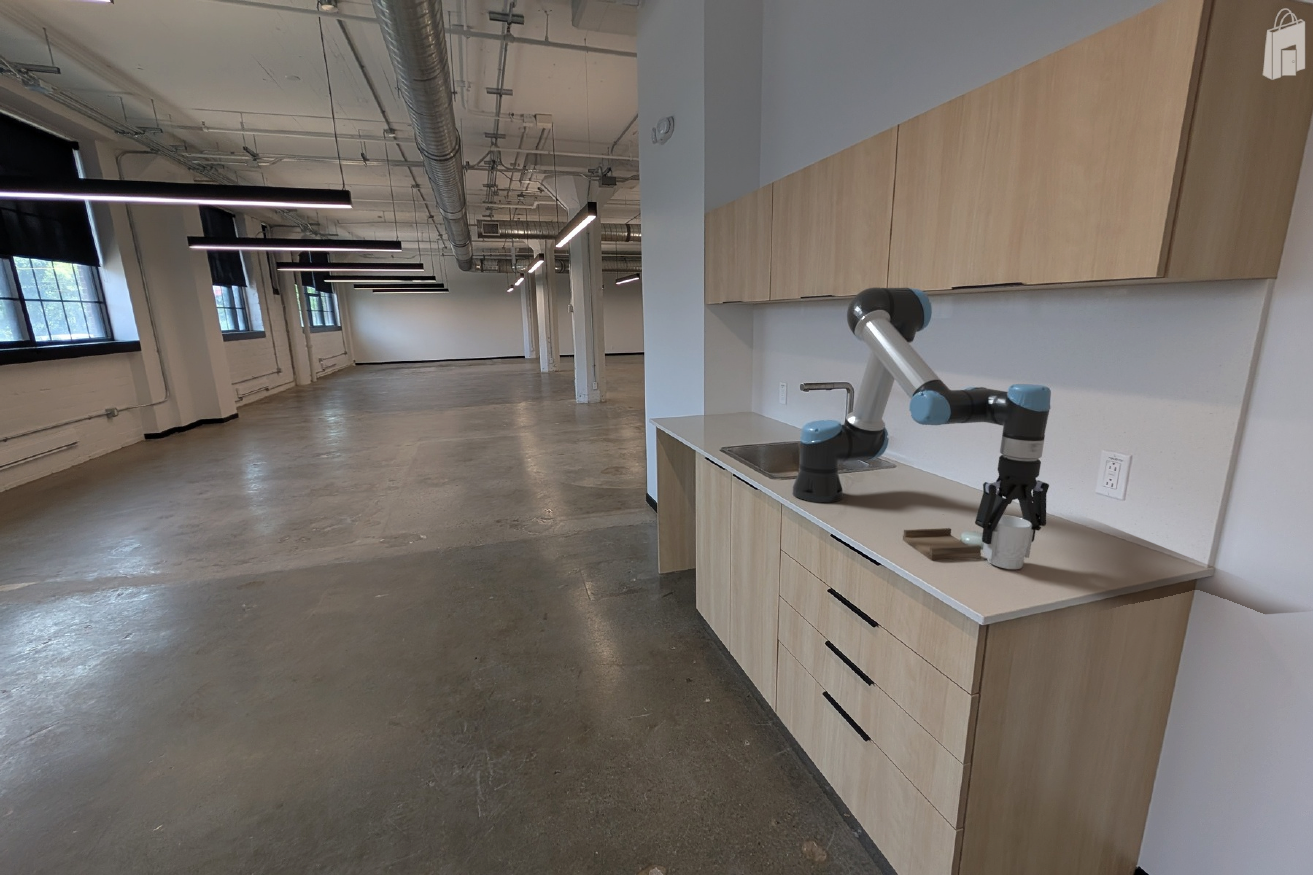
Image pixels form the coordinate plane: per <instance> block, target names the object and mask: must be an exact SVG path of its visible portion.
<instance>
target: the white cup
mask: <svg viewBox="0 0 1313 875" xmlns="http://www.w3.org/2000/svg"><path fill="white" fill-rule="evenodd" d="M1031 528H1032V523H1031V522H1029V521H1027V520H1025V519H1023V517H1019V516H1014V515H1007V514H1003V515H1002V517H1001V519H1000V521H999V522H998V524H997V526H996V528H995V530H996V531H998V535H997V542H996V549H995V556H994V559H989V558H988V557H986V559H987V562H988V563H990V564H991V565H992V566H996V567H999V568H1002V569H1006V570H1019V569H1021V568H1023V567H1024V562H1025V558H1026V557H1025V555H1026V550H1027V547H1028V543H1029V538H1030V533H1031Z"/></svg>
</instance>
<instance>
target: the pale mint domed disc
mask: <svg viewBox="0 0 1313 875" xmlns="http://www.w3.org/2000/svg"><path fill="white" fill-rule="evenodd" d="M982 536H983V532H979V531H969V530H968V531H964V532H962V533H961V535H960V541H962V542H963V543H965V544H967V545H969V546H972V545H979V546H981V550H983V546H984V542H982Z"/></svg>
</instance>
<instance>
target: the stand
mask: <svg viewBox="0 0 1313 875" xmlns="http://www.w3.org/2000/svg"><path fill="white" fill-rule="evenodd" d="M902 541H903V542H905V543H906V544H907V545H909V546H910V547H912V548H913V549H915V550H916V551H917V552H919V553H920V554H922V555H923V556H924V557H926V558H928V559H929V560H930V561H944V560H962V559H981V556H982V552H981V551H982V549H981V546H979V545H972V546H969V545H967V544H965V543H963V542H962V541H961V539H958V538H957V537H955V536H953V535H952V529H951V528H950V527H945V528H943V527H941V528H923V529H922V528H919V529H904V530H903V535H902Z"/></svg>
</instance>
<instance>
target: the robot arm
mask: <svg viewBox="0 0 1313 875" xmlns="http://www.w3.org/2000/svg"><path fill="white" fill-rule="evenodd" d="M932 310H933V308H932V303H931V302H930V298H929V296H928V294H927V293H926V292H925V291H923V290H921V289H919V288H913V287H869V288H866V289H863V290H861V291H860V292H859V293H857V294H856V295H855V296H853V298H852V300H850V303H849V304H848V308H847V311H846V320H847V324H848V327H849V330H850V331H851V332H852V334H853V336H855V338H856V339H857V340H858V341H861V342H864V343H866V345H867V346H868V347H869V349H870V353H869V356H868V359H867V361H866V367H865V370H864V371H863V372H864V373H863V377H862V380H861V383H860V387H859V390H858V393H857V397H856V400H855V404H854V407H853V411H852V412H848V413H847V414H846V417H845V419H844V422H843V424H842V423H841V421H838V420H834V419H826V420H825V419H819V420H814V421H810V422H807V423H806V424H805V425H804V426H803V427H802V429H801V434H800V439H799V440H800V454H799V469H798V473H797V475H796V477H795V480H794V483H793V486H792V495H793V497H795V498H797V497H798V498H797V499H799V498H800V500H802V499H804V500H803V501H806V500H807V501H806V502H811V501H812V502H813V503H822V502H826V503H835V502H839V501H841V500H842V499H843V496H844V494H843V493H844V489H843V486H842V482H841V479H840V475H839V474H840V473H839V469H840V467H839V466H840V463H846V462H856V461H863V462H864V461H865V462H866V461H870V460H875V459H878V458H879V457H881V456H883V455H884V453H885V452H886V451H887V448H888V444H889V439H890V438H889V437H888V436H889V432H888V430H887V428H886V423H885V421H884V420H883V416H884V413H885V409H886V407H887V405H888V401H889V397H890V394H891V392H892V388H893V386H894V383H895V381H896V382H897V384H898V385H899V386H900V387H901V388H902V390H903V391H904V392H905V393H906V395H907V396H908V398H909V399H910V401H909V408H908V409H909V412H910V416H911V418H912V420H913V421H914V422H916V423H918V424H919V425H922V426H942V425H950V424H951V425H952V424H955V425H956V424H972V423H974V424H975V423H987V424H988V423H989V424H993V425H998V426H1003V427H1002V434H1001V440H1000V441H1001V442H1000V448H999V453H1000V456H999V458H998V464H997V473H998V478H997V479H996V481H995V482H990V483H989V482H988V481H987V482H986V481H985V482H984V483H983V484H982V487H983V488H982V491H983V493H982V497H981V499H980V504H979V508H978V510H977V514H976V517H975V521H974V523H975V525H976V526H978V527H979V528H982V533H983V536H982V542H984V546H983V549H982V555H983V556H984V557H986V558H987V557H988V558H989V559H994V556H995V549H996V542H997V535H998V531H996V530H995V528H996V526H997V524H998V522H999V521H1000V519H1001V517H1002V515H1004V513H1005V511H1006V509H1007V508H1008V506H1009V505H1011V504H1012V502H1013V501H1015V500H1018V502H1019V507H1020V510H1021V515H1022V519H1025V520H1027V521H1029V522H1031V523H1032V528H1031V533H1030V538H1029V543H1028V547H1027V550H1026V555H1025V557H1024V558H1025V559H1027V558H1028V559H1030V554H1031V549H1032V543H1033V542H1034V541H1035V538H1036V537H1035V536H1036V532H1037V531H1038V532H1039V531H1040V530H1041V529H1042V527H1045V526H1046V525H1047V493H1048V490H1049V487H1050V484H1049V483H1047V482H1044V481H1042V480H1039V479H1037V478H1038V477H1040V472H1041V465H1042V461H1041V460H1040V459H1041V458H1043V457H1042V456H1043V453H1044V452H1043V450H1044V444H1045V436H1046V434H1045V433H1046V429H1047V423H1048V419H1049V415H1050V414H1049V413H1050V410H1051V407H1052V406H1051V396H1052V392H1051V389H1050V387H1048V386H1046V385H1042V384H1030V383H1014V384H1012V385H1011V384H1010V386H1009V387H1008V390H1007V391H1006V390H1005V391H1003V390H998V389H991V388H987V387H983V386H978V387H977V386H976V387H975V386H970V387H966V388H965V389H950V388H949V387H948V386H947V385H946V383H944V381H943V380H941V378H940V377H939V376H938V375H937V373H936V372H935V371H934V370H933V369H932V368H931V367H930V365H928V363H927V362H926V361H925V359H923V358H922V357H921V355H920V354H919V353H918V351H916V350H915V348H913V346H912V345H911V343H914V340H915V337H916V334H917V333H919V332H921V331H923V330H924V329H925V328H927V327H928V325H929V324H930V322H931V319H932V313H933V311H932Z"/></svg>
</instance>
